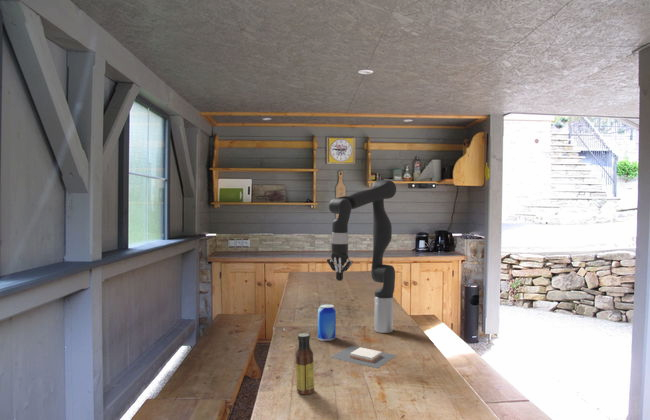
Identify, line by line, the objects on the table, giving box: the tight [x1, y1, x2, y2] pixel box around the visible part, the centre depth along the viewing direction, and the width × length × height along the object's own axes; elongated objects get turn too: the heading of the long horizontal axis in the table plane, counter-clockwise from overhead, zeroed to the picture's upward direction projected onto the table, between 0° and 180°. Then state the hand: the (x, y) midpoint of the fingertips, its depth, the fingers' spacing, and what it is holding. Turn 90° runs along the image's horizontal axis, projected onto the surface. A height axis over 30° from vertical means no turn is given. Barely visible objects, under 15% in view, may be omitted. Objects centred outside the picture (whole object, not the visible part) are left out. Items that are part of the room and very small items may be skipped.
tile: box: [350, 347, 382, 362], centre depth 193 cm, size 9×2×10 cm
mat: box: [329, 345, 398, 369], centre depth 193 cm, size 18×22×1 cm
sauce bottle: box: [295, 332, 315, 396], centre depth 159 cm, size 7×6×20 cm
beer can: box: [317, 303, 337, 342], centre depth 217 cm, size 8×8×16 cm
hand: (339, 280), depth 211 cm, fingers closed
